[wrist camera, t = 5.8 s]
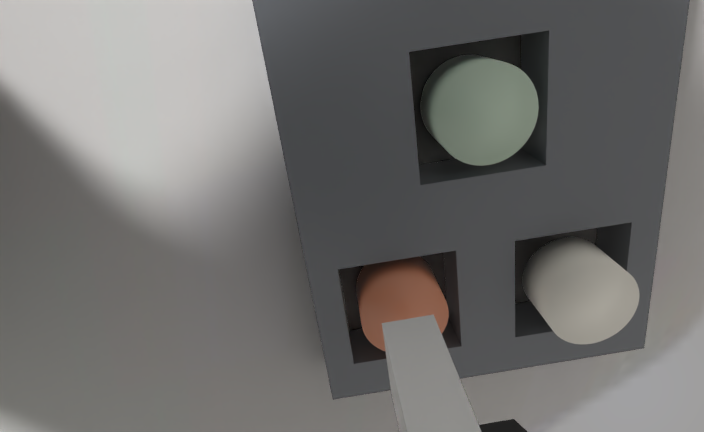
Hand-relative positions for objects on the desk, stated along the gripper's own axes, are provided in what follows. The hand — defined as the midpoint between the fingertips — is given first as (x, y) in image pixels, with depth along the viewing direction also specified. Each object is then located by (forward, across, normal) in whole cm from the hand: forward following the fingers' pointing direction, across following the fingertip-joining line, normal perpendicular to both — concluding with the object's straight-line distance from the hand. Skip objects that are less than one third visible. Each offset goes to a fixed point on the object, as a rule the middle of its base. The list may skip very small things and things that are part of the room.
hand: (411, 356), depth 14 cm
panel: (+5, +3, +3) cm, 7 cm away
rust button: (+4, 0, 0) cm, 4 cm away
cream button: (+3, +6, 0) cm, 7 cm away
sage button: (+5, +3, +6) cm, 8 cm away
